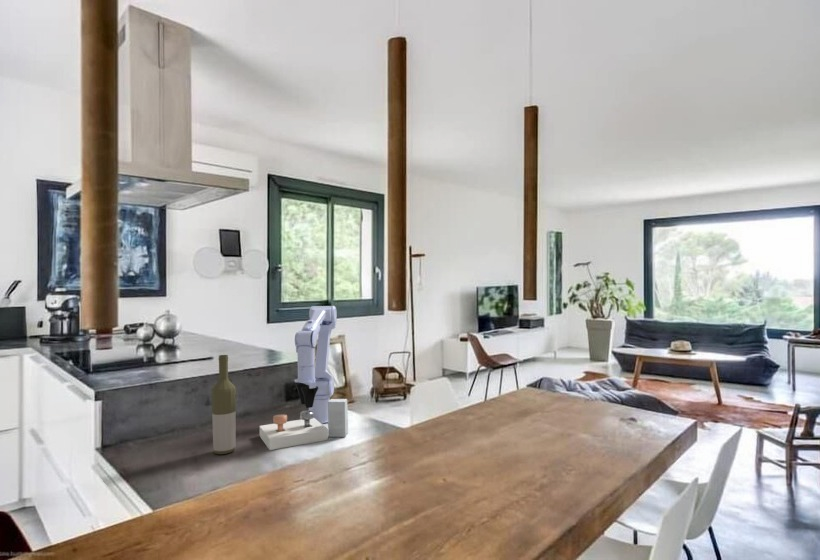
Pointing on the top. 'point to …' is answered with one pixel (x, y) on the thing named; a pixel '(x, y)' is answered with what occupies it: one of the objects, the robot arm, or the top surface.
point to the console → (293, 434)
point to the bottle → (223, 410)
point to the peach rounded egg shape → (280, 421)
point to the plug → (306, 417)
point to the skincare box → (337, 418)
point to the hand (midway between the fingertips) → (306, 405)
